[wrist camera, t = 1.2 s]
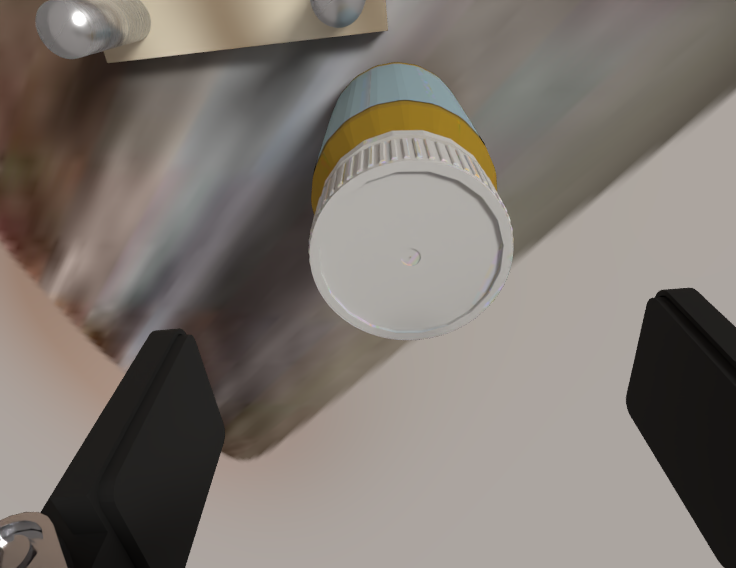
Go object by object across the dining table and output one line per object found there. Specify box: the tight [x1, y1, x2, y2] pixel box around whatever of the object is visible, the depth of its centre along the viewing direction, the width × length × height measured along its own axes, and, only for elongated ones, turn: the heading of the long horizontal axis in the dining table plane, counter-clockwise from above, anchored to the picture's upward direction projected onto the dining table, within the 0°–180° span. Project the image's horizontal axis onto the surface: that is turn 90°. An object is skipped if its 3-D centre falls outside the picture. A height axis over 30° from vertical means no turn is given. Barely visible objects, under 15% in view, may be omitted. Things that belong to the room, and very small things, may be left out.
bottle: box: [308, 62, 514, 340], centre depth 22 cm, size 7×7×15 cm
